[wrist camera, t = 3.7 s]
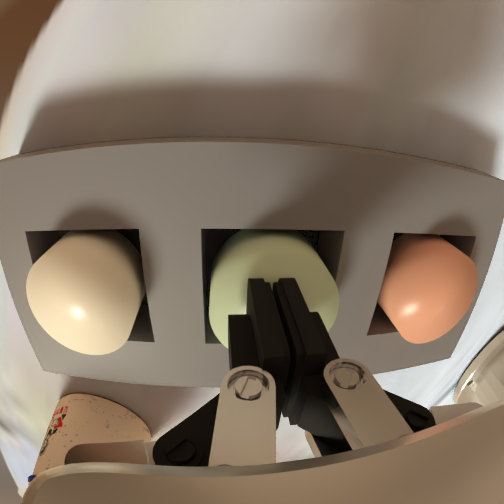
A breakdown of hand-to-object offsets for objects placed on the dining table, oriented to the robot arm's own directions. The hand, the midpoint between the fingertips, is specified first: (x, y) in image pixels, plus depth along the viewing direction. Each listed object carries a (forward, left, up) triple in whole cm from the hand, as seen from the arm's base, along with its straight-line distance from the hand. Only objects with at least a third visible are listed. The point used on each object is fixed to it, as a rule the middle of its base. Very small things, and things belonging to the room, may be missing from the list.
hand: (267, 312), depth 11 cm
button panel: (0, 0, -5) cm, 5 cm away
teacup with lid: (+13, +17, -5) cm, 22 cm away
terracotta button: (-8, 0, -3) cm, 9 cm away
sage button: (0, 0, -3) cm, 3 cm away
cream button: (+8, 0, -3) cm, 8 cm away
